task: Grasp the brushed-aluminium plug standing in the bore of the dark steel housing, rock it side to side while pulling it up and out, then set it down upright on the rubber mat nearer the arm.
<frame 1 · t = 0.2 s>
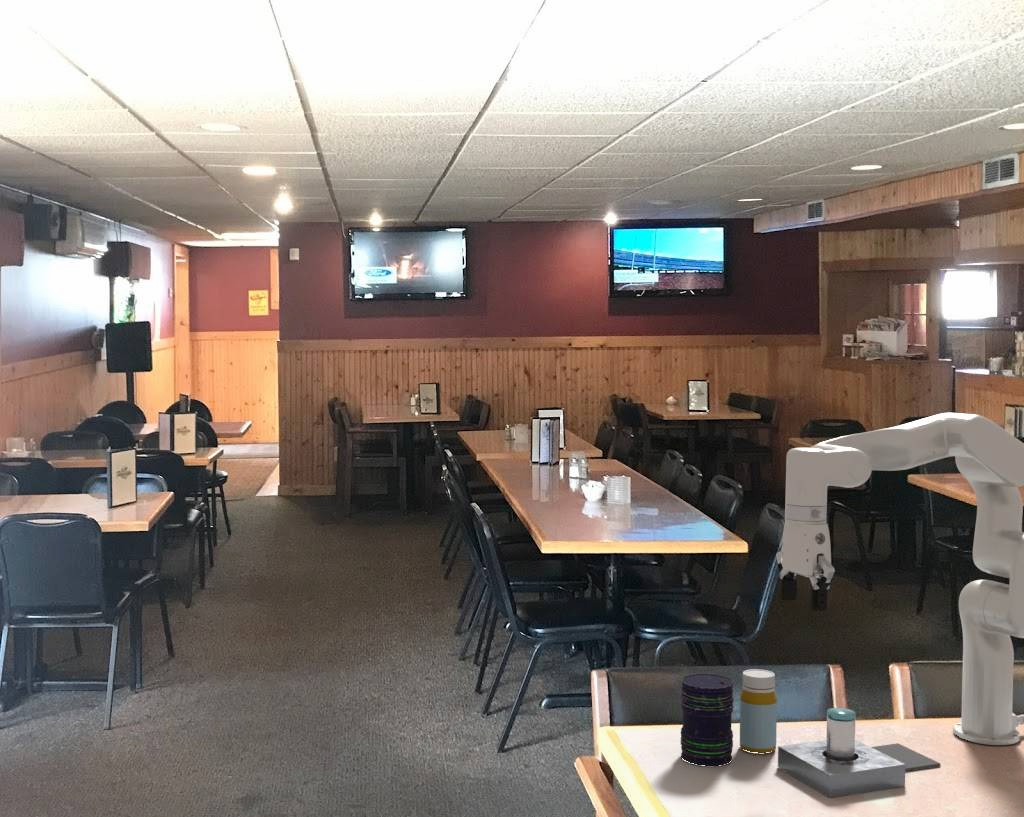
hand: (803, 605, 219), 30 cm above the table, tool pointing down, fingers open, 9 cm apart
bottle: (757, 750, 229), on the table
plug: (840, 744, 214), in the housing
storage jar: (706, 759, 223), on the table
mat: (893, 759, 223), on the table
housing: (840, 776, 214), on the table
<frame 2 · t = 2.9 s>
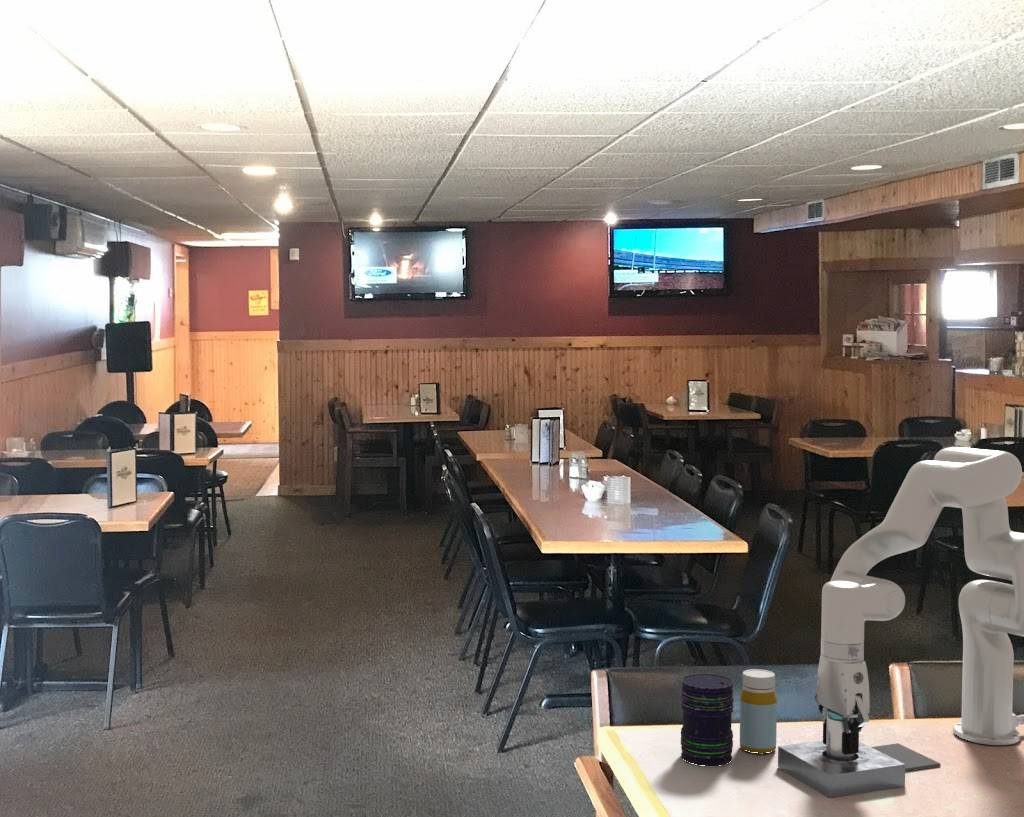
hand: (840, 747, 214), 5 cm above the table, tool pointing down, fingers closed on plug, 5 cm apart
plug: (840, 744, 214), in the housing, touching gripper
everything else where it was.
when the fingers open (7 cm above the table, at t = 10.2 s): plug stays where it is, resting on mat.
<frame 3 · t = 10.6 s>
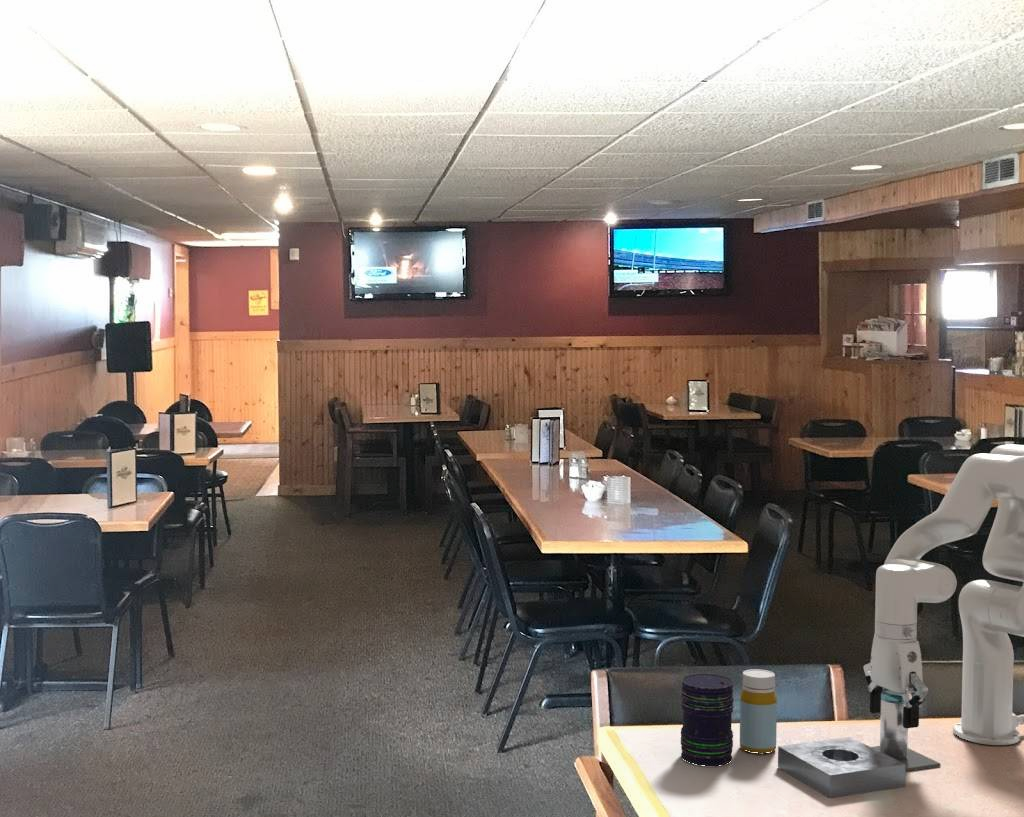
hand: (893, 719, 222), 8 cm above the table, tool pointing down, fingers open, 9 cm apart
plug: (894, 725, 223), on the mat, point 7 cm above the table
everything else where it was.
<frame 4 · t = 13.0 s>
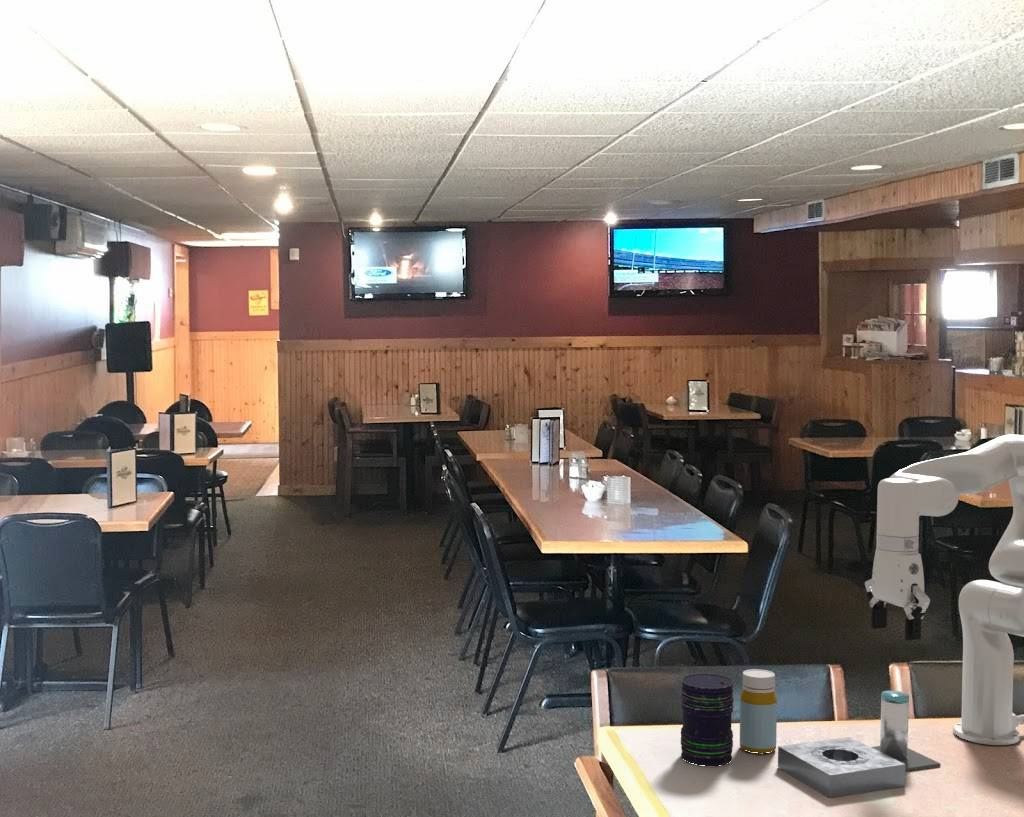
hand: (895, 633, 222), 24 cm above the table, tool pointing down, fingers open, 9 cm apart
nothing on the table moved.
at the end: plug inside the target area on the mat (0.1 cm from its centre), point 6.6 cm above the mat's base; plug tilted 1°; plug touching mat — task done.
